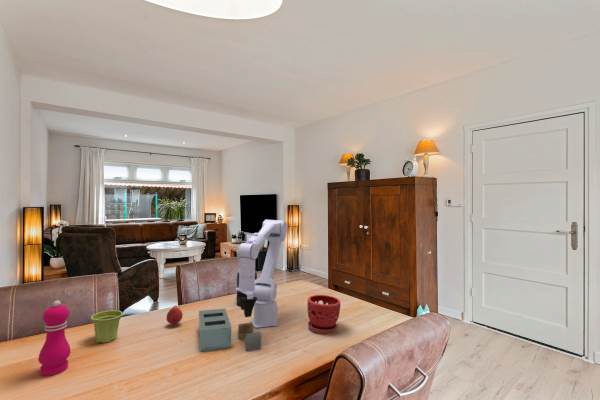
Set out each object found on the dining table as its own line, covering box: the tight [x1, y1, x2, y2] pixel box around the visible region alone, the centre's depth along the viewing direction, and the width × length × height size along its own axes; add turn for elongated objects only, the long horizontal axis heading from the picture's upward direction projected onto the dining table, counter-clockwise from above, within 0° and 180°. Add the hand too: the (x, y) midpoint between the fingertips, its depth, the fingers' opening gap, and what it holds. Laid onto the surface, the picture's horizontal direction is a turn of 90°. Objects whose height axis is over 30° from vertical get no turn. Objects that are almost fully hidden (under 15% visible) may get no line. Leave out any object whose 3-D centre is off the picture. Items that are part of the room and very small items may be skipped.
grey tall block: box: [244, 331, 262, 352], centre depth 103 cm, size 5×2×5 cm, turn 110°
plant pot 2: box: [307, 294, 341, 334], centre depth 121 cm, size 13×13×12 cm
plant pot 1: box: [90, 309, 124, 344], centre depth 107 cm, size 9×9×9 cm
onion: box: [166, 304, 183, 327], centre depth 121 cm, size 6×6×8 cm
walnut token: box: [237, 322, 254, 341], centre depth 111 cm, size 5×2×5 cm, turn 110°
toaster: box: [197, 308, 232, 353], centre depth 111 cm, size 10×19×7 cm, turn 20°
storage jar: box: [235, 271, 258, 308], centre depth 149 cm, size 10×10×15 cm
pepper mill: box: [38, 299, 72, 377], centre depth 88 cm, size 7×7×20 cm
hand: (246, 312), depth 111 cm, fingers open, 7 cm apart
